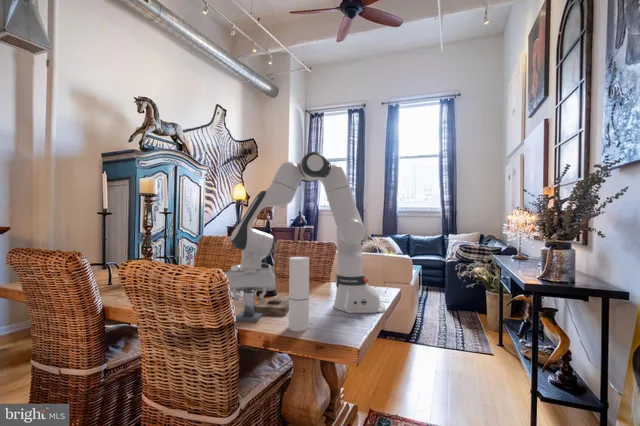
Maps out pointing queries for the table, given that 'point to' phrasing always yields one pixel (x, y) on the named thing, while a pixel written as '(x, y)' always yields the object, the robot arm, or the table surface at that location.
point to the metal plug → (249, 303)
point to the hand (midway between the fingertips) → (248, 299)
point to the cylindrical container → (298, 293)
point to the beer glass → (240, 293)
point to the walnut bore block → (273, 306)
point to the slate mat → (249, 319)
